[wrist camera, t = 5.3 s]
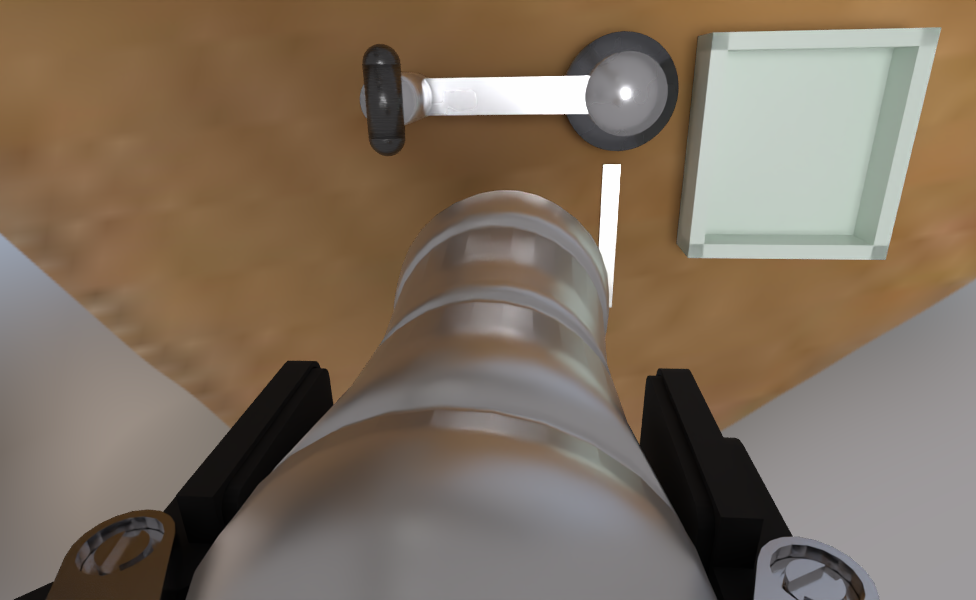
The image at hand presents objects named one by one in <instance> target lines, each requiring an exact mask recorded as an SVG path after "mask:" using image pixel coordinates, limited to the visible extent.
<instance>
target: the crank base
mask: <svg viewBox="0 0 976 600" xmlns="http://www.w3.org/2000/svg"><path fill="white" fill-rule="evenodd" d="M623 51H637V52H641V53H644V54H646V55H648V56H650V57H651V58H653V59H654V60H655V61H656V62H657V63H658V64H659V65H660V67H661V68H662V70H663V72H664V74H665V76H666V80H667V86H668V95H667V101H666V104H665V107H664V109H663V111H662V113H661V115H660V116H659V118H658V119H657V120H656V121H655V123H654V124H653V125H651V126H650V127H649V128H647V129H646V130H644V131H642V132H640V133H638V134H635V135H631V136H616V135H612V134H609V133H607V132H605V131H603V130H602V129H601V128H599V127H598V126H597V125H596V124H595V123H594V122H593V121H592V120H591V119H590V117H589V116H588V114H566V115H567V117H568V120H569V121H570V123H571V125H572V126H573V128H574V130H575V131H576V132H577V133H578V134H579V135H580V136H581V137H582V138H583V139H584V140H585V141H587V142H588V143H590V144H592V145H594V146H596V147H598V148H601V149H605V150H610V151H623V150H629V149H633V148H636V147H639V146H641V145H643V144H645V143H646V142H648V141H650V140H651V139H652V138H654V137H655V136H656V135H657V134H658V133H659V132H660V131H661V130H662V129H663V128H664V126H665V125H666V124H667V122H668V121H669V119H670V117H671V116H672V113H673V111H674V109H675V105H676V102H677V97H678V76H677V72H676V68H675V65H674V63H673V61H672V59H671V57H670V55H669V54H668V53H667V51H666V50H665V49H664V48H663V47H662V46H661V45H660V44H659V43H658V42H656V41H655V40H654V39H652V38H650V37H648V36H646V35H643V34H640V33H636V32H626V31H624V32H615V33H611V34H608V35H605V36H602V37H600V38H598V39H597V40H595V41H593V42H592V43H590V44H589V45H587V46H586V47H585V48H584V49H583V50H582V51H580V52H579V54H578V55H577V56H576V57H575V59H574V60H573V62H572V63H571V65H570V67H569V69H568V71H567V74H566V76H588V75H589V73H590V72H591V70H592V69H593V67H594V66H595V65H596V64H597V63H598V62H599V61H601V60H602V59H604V58H605V57H607V56H610V55H612V54H615V53H619V52H623ZM620 170H621V164H603V177H602V195H601V214H600V232H599V250H600V252H601V254H602V257H603V261H604V264H605V267H606V271H607V274H608V286H609V307H612V292H613V277H614V261H615V246H616V231H617V216H618V200H619V185H620Z"/></svg>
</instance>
